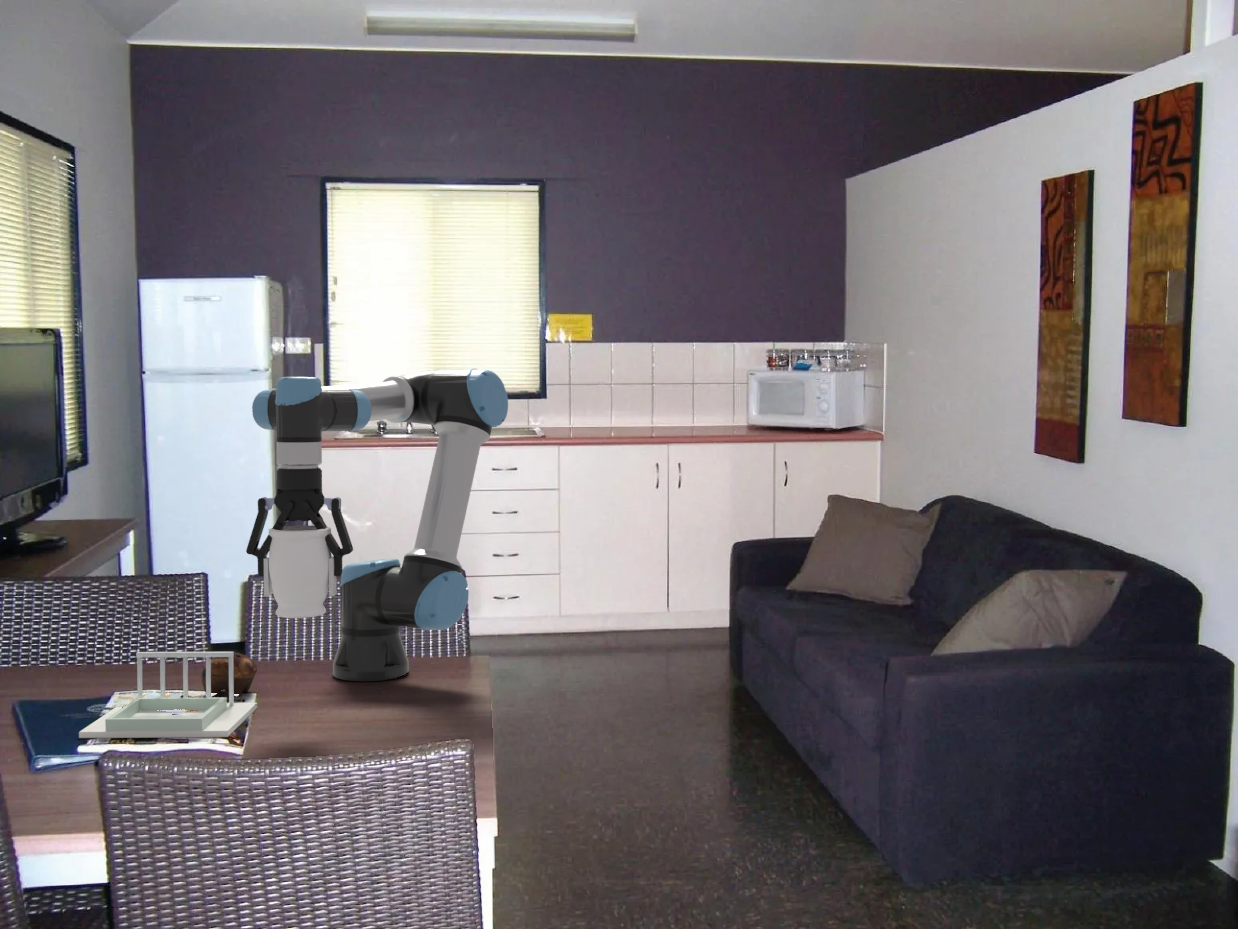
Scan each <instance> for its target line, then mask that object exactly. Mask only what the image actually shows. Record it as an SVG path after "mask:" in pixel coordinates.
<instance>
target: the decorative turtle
mask: <svg viewBox="0 0 1238 929" xmlns="http://www.w3.org/2000/svg"><path fill="white" fill-rule="evenodd" d="M257 671H258V665H257V663H256V661H255V660H254V659H253V658H251V657H249V656H248V655H246V654H243V653H240V652H234V656H233V674H234V694H240V695H242V693H247V692H248V691H249V690H250V688H251V687H252V683H253V681H254V679H255V677H256V673H257ZM200 678H201V683H202V686H203V689H204V690H203V691H204V693H205V692H206V665H205V666H204V667H203V670H202V671H201V675H200ZM221 690H223V691H226V692H227V693H229V657H212V659H211V693H217V694H219V693H221V692H222V691H221ZM220 691H221V692H220Z"/></svg>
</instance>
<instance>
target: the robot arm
mask: <svg viewBox="0 0 1238 929" xmlns="http://www.w3.org/2000/svg"><path fill="white" fill-rule="evenodd" d="M508 397H509V396H508V393H507V390H506V388H505V384H504V382H503V381H502V379H501V378H500V376H499V375H498V374H497V373H496V372H493V371H491V370H489V369H488V370H487V369H478V368H470V369H431V370H430V369H429V370H423V371H419V372H414V373H409V374H402V375H394V376H389V377H387V378H385V379H384V380H383V381H382V382H368V383H355V384H352V383H351V384H341V385H340V384H338V385H327V386H322V382H321V379H320V378H319V377H314V376H310V377H309V376H282V377H280V378H278V380H277V381H276V388H272V389H265V390H261V391H260V392H258V393H257V395H255V397H254V399H253V402H252V408H251V409H252V410H251V411H252V418H253V420H254V422H255V424H256V425H257V426H259V428H262V429H264V430H269V431H274V432H276V465H277V466H279V468H278V469H277V470H276V494H275V496H274V497H265V496H264V497H261V498H259V499H258V500H257V515H256V518H255V521H254V524H253V528H252V531H251V534H250V537H249V540H248V543H247V547H246V550H245V552H246V554H248V555H252V556H254V557H256V558H257V575H258V577H263V596H264V597H270V596H271V595H273V591H272V582H271V578H270V573H269V551H270V545H271V542H272V537H271V536H270V535H269V534H268V535H267V536H266V538H265V540H264V541H263V543H262V544H261V547H260V548H259V545H260V541H261V538H262V534H263V532H264V529H265V528H264V527H265V526H266V521H267V519H268V515H269V511H270V510H272V508H273V505H274V506H276V507H277V509H278V511H280V514H279V516H278V517H277V519H276V521H275V523H274V525H273V527H272V529H275V530H282V529H283V527H284V526H286V524H287V523H288V521H289V522H297V521H301V522H309V521H310V522H311V524H312V526H315V527H316V529H317V530H318V529H326V528H328V527H329V526H327V524H326V523H325V521H324V518H323V516H322V515H321V513H320V511H321V509H322V507H323V506H324V505H325V506H326V507H327V510H329V511H331V517H332V519H333V523H334V525H335V528H336V532H337V535H338V538H339V541H340V544H341V546H340V544H338V542H337V540H336V539H335V537H334V536H333V534H332V532H331V533H330V534H328V535H327V536H325V541H326V544H327V546H328V548H329V550H330V551H331V555H332V556H331V558H329V588H328V597H335V596H336V595H337V592H338V591H337V577H341V578H340V581H341V582H340V584H339V587H340V618H341V620H340V621H341V622H340V623H341V626H340V627H341V639H340V641H339V644H338V648H337V650H336V653H335V656H334V659H333V663H332V676H333V677H334V678H336V679H339V680H343V681H350V682H379V681H381V682H382V681H387V680H388V679H389V680H393V679H394V680H395V679H398V678H397V677H399V676H401V675H404V674H406V673H407V672H408V671H409V670H410V668H409V666H410V664H409V663H410V662H409V659H408V655H407V652H406V650H405V647H404V643H403V640H402V637H401V627H405V628H415V629H421V630H424V631H432V630H434V631H443V630H447V629H449V628H451V627H452V626H453V625H454V624H456V623H457V622H458V621H459V620H461V617H462V616H463V614H464V612H465V610H466V607H467V605H468V600H469V589H468V588H467V587H468V581H467V580H466V577H465V576H464V575H463V574H461V573H462V570H463V565H462V564H461V563H460V561H459V560H458V557H457V556H458V551H459V547H460V541H461V539H462V538H461V537H462V534H463V530H464V529H463V528H464V523H465V519H466V515H467V510H468V505H469V500H470V497H471V491H472V486H473V482H474V478H475V474H476V473H475V472H476V469H477V464H478V459H479V454H480V448H481V446H482V445H483V444H484V443H487V441H489V440H490V437H491V433H492V430H493V428H497V427H499V426H501V425H502V424H503V423H504V422H505V420H506V418H507V417H508V416H507V415H508V410H509V398H508ZM382 420H383V421H384V420H387V421H388V422H390V423H392V424H393V423H395V424H397V423H398V424H400V423H412V424H413V423H414V424H421V425H431V426H433V428H434V430H435V431H436V433H437V435H438V440H437V446H436V450H435V454H434V459H433V463H432V467H431V472H430V476H429V481H428V486H427V489H426V494H425V499H424V502H423V507H422V510H421V517H420V520H419V523H418V524H419V525H418V530H417V533H416V537H415V542H414V543H415V544H414V547H413V549H412V550H410V551H409V552H407V553H406V554H404V557H403V561H402V565H401V563H400V560H399V559H398V558H387V559H386V558H385V559H375V560H374V559H373V560H367V561H366V560H365V561H360V562H359V561H358V562H354V563H353V562H352V563H349V564H346V565H345V566H344V567H343V557H344V556H346V555H348V554H351V553H352V552H353V551H354V548H353V543H352V541H351V538H350V534H349V532H348V528H347V526H346V522H345V519H344V516H343V512H342V499H341V498H340V497H338V496H337V497H325V496H324V494H323V469H321V468H320V467H319V466H320V465H322V462H323V457H322V456H323V453H322V452H323V451H322V448H323V447H322V446H323V445H322V444H323V443H322V439H323V438H322V436H323V435H322V433H323V432H345V433H346V432H349V433H351V432H352V431H353V432H354V431H360V430H361V429H362V430H363V428H365V427H366V426H367V425H368V423H369V422H373V421H382ZM409 672H410V671H409ZM406 675H407V674H406ZM404 676H405V675H404ZM399 678H400V677H399Z"/></svg>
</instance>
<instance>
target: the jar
mask: <svg viewBox="0 0 1238 929" xmlns="http://www.w3.org/2000/svg"><path fill="white" fill-rule="evenodd" d="M327 527H328V528H326V529H318V530H317V529H316V527H315V526H314V525H307V524H306V525H285V526H284V527H283V529H282V530H275V529H272V528H273V527H272V528H268V535H270V536H271V537H272V542H271V545H270V551H269V552H268V557H269V573H270V578H271V582H272V595H273V597H274V599H275V602H276V604H278V607H277V609H275V610H276V611H275V615H276V616H277V617H279V618H286V619H305V618H315V617H319V616H323V615H324V614H326V613H327V609H326V607H325V606H324V602H325V600H326V598H327V595H328V594H329V558H331V557H332V553H331V551H330V550H329V548H328V546H327V544H326V541H325V536H327V535H328V534H330V533H331V534H332V528H331V527H329V526H327Z"/></svg>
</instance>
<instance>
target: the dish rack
mask: <svg viewBox="0 0 1238 929" xmlns="http://www.w3.org/2000/svg"><path fill="white" fill-rule="evenodd" d="M234 653H235V651H138V652H136V656H135V657H136V664H137V665H136V666H137V668H136V669H137V670H136V673H137V674H136V675H137V676H136V677H137V679H136V680H137V684H136V686H137V697H136V698H135V699H133V700H132V701H130V702H128V703H129V704H127V705H126V706H124V707H123V708H122V707H117V706H116V707H114V708H113V709H111V710H109V711H108V712H107V713H105V714H104V715H102V716H100V717H99V718H98V719H97V720H95V721H93V722H92V723H90V724H88V725H87V726H86V727H84V728H83V729H81V730H80V731H79V732H78V739H107V738H108V739H118V738H119V739H120V738H121V739H123V738H124V739H125V738H128V739H129V738H133V739H134V738H135V739H137V738H138V739H139V738H140V739H141V738H228V737H229V736H230V735H232V733H233V732H234V731H235V730H237V729H238V727H240V725H242V724H243V723H244V722H245V721H247V719H248V718H249V717H250V716H251V715H252V714H253V713H254V711H256V710H257V709H258V702H235V697H234V674H233V656H234ZM214 657H229V692H228V697H227V696H225V697H222V696H221V697H219V696H217V697H215V696H214V697H211V660H212V659H211V658H214ZM143 658H159V670H160V671H159V674H160V675H159V676H160V677H159V680H160V681H159V684H160V688H159V691H160V697H143V661H142V660H143ZM166 658H182V682H183V683H182V684H183V685H182V688H183V690H182V691H183V692H182V694H183V697H166ZM188 658H205V666H206V693H205V697H189V663H188V662H189V660H188ZM227 700H228V702H227ZM174 709H177V710H178V709H179V710H180V709H181V710H182V709H185V710H198V711H195V712H194V711H191V712H186V713H175V714H186V715H175V716H174V715H172V714H174V713H172V712H166V711H162V710H174ZM157 710H159V711H157ZM160 710H161V711H160Z"/></svg>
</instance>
